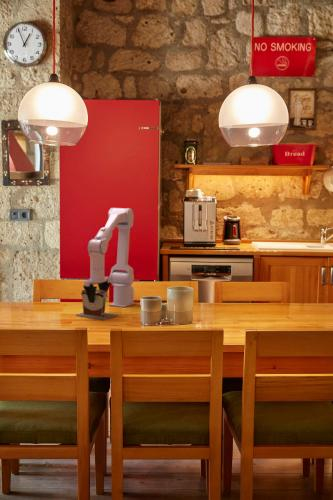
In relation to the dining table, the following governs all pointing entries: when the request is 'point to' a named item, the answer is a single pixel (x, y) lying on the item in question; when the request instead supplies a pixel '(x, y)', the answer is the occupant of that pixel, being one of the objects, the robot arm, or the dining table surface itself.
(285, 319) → the dining table surface
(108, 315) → the mat
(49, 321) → the dining table surface
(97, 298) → the food container
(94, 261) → the robot arm
